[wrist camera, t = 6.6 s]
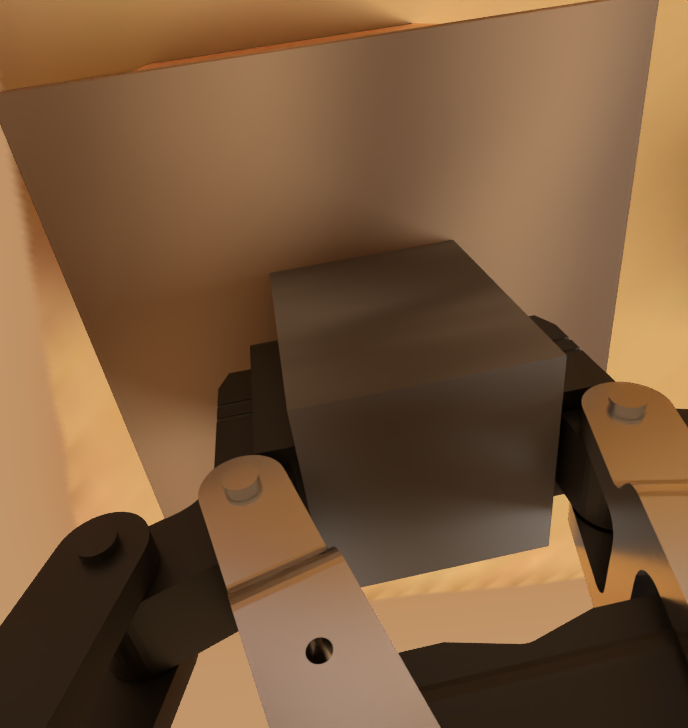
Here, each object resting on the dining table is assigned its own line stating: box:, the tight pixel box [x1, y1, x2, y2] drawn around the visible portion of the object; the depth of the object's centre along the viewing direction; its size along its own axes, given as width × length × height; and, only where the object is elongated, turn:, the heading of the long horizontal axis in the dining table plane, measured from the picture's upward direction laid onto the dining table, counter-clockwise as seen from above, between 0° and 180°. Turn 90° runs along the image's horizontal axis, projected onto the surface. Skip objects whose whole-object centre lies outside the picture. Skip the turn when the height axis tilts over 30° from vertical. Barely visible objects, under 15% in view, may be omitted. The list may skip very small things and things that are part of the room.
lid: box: [0, 0, 659, 587], centre depth 11 cm, size 12×12×6 cm
